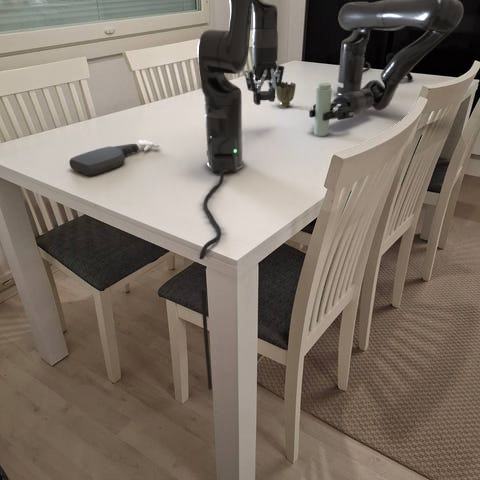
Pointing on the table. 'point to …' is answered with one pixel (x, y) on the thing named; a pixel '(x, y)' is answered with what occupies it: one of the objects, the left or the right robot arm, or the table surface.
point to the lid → (266, 95)
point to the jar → (322, 108)
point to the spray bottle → (106, 157)
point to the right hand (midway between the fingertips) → (317, 115)
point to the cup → (285, 93)
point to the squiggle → (392, 58)
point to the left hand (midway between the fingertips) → (264, 102)
